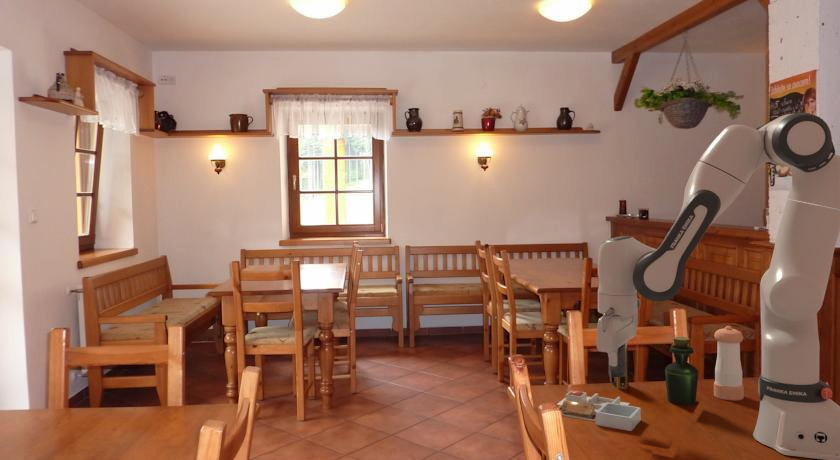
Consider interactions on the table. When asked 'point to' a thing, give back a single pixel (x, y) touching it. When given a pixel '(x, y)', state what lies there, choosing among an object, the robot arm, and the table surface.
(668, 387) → the potion bottle
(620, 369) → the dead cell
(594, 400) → the battery tester
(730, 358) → the pepper shaker
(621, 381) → the multimeter
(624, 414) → the grey square open box
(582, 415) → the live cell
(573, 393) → the button
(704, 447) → the table surface
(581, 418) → the trough
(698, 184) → the robot arm
